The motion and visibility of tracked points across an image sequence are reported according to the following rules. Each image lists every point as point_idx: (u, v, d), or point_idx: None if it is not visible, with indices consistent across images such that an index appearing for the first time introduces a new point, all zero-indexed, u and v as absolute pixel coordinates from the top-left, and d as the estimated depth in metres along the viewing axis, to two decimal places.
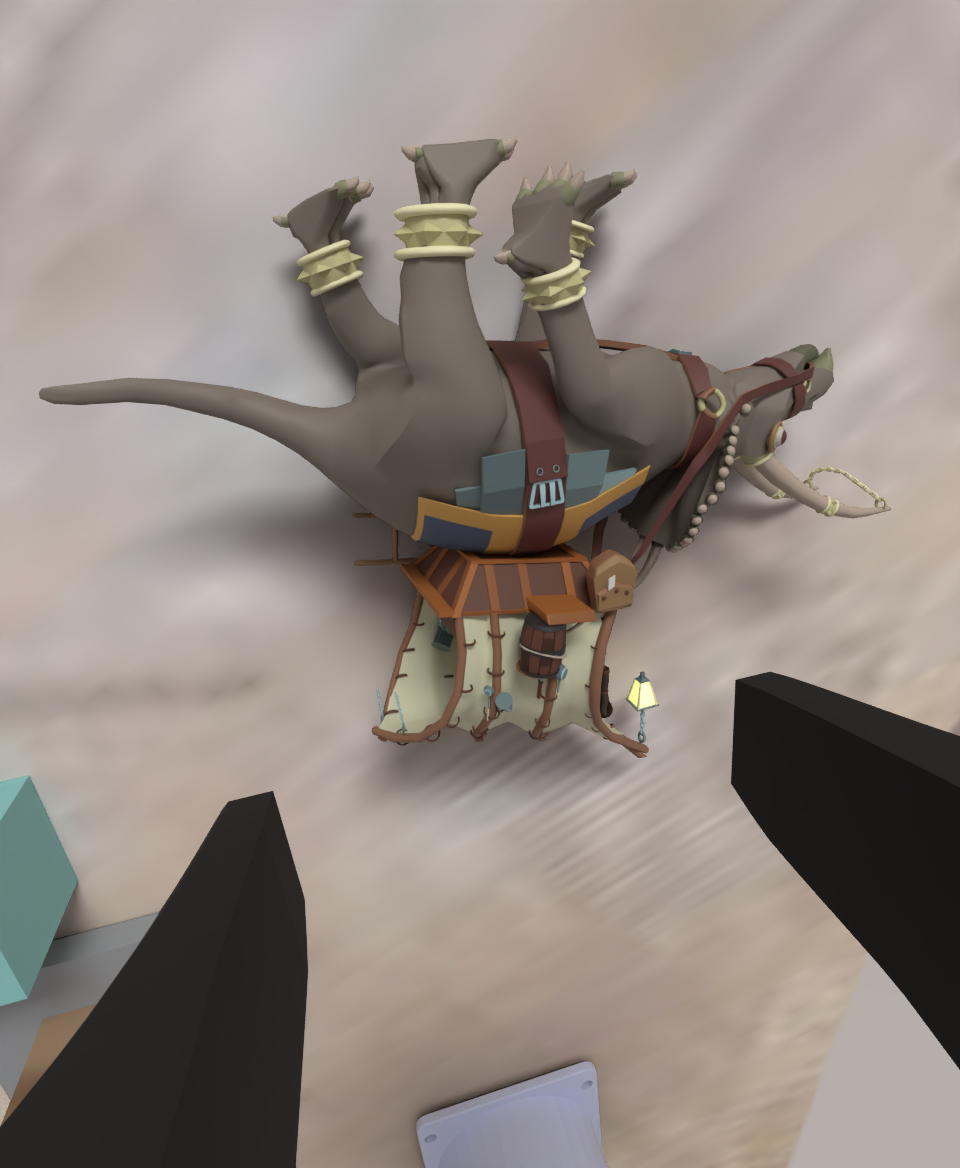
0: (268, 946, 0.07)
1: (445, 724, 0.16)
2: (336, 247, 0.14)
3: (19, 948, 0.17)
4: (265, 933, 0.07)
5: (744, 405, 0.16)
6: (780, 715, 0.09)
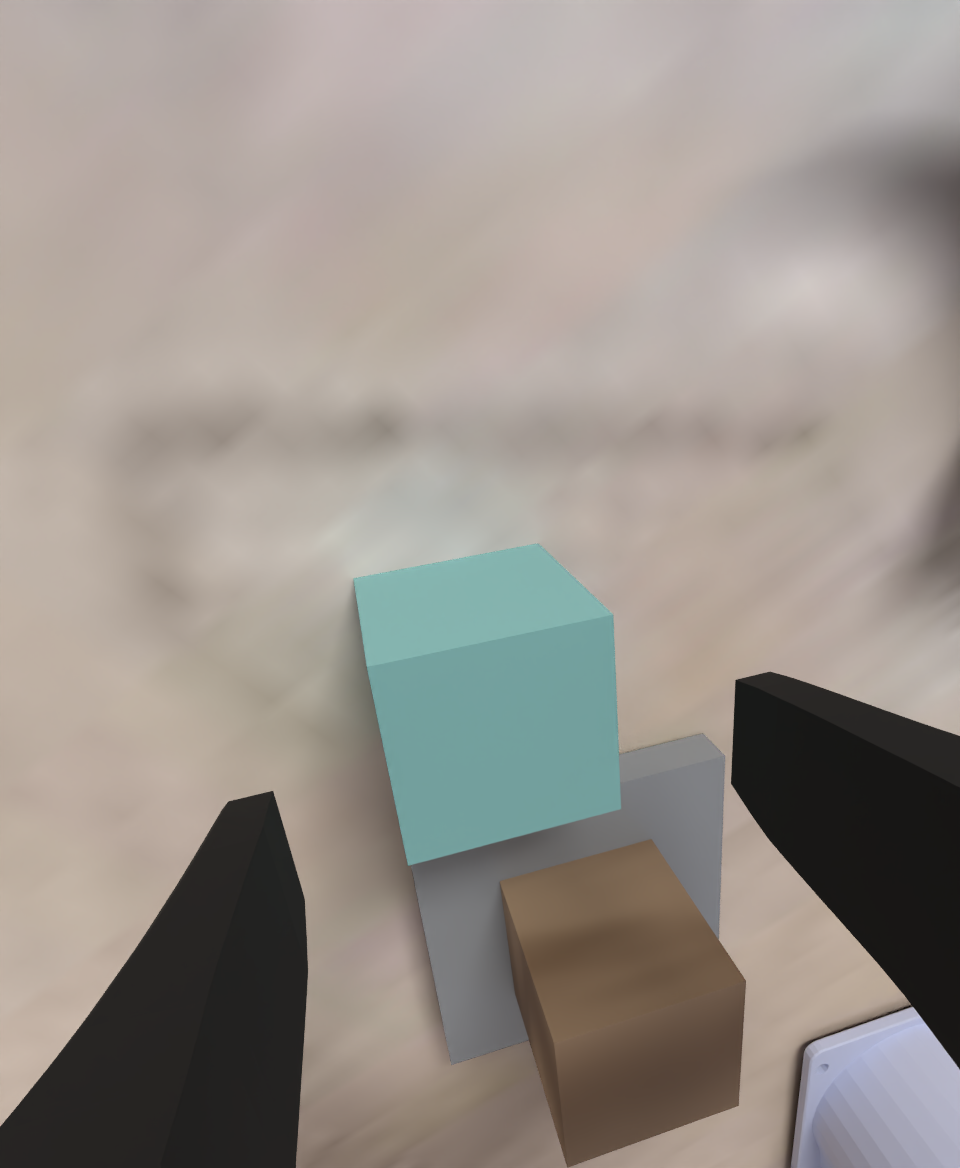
0: (267, 946, 0.07)
1: None
2: None
3: None
4: (265, 933, 0.07)
5: None
6: (780, 715, 0.09)
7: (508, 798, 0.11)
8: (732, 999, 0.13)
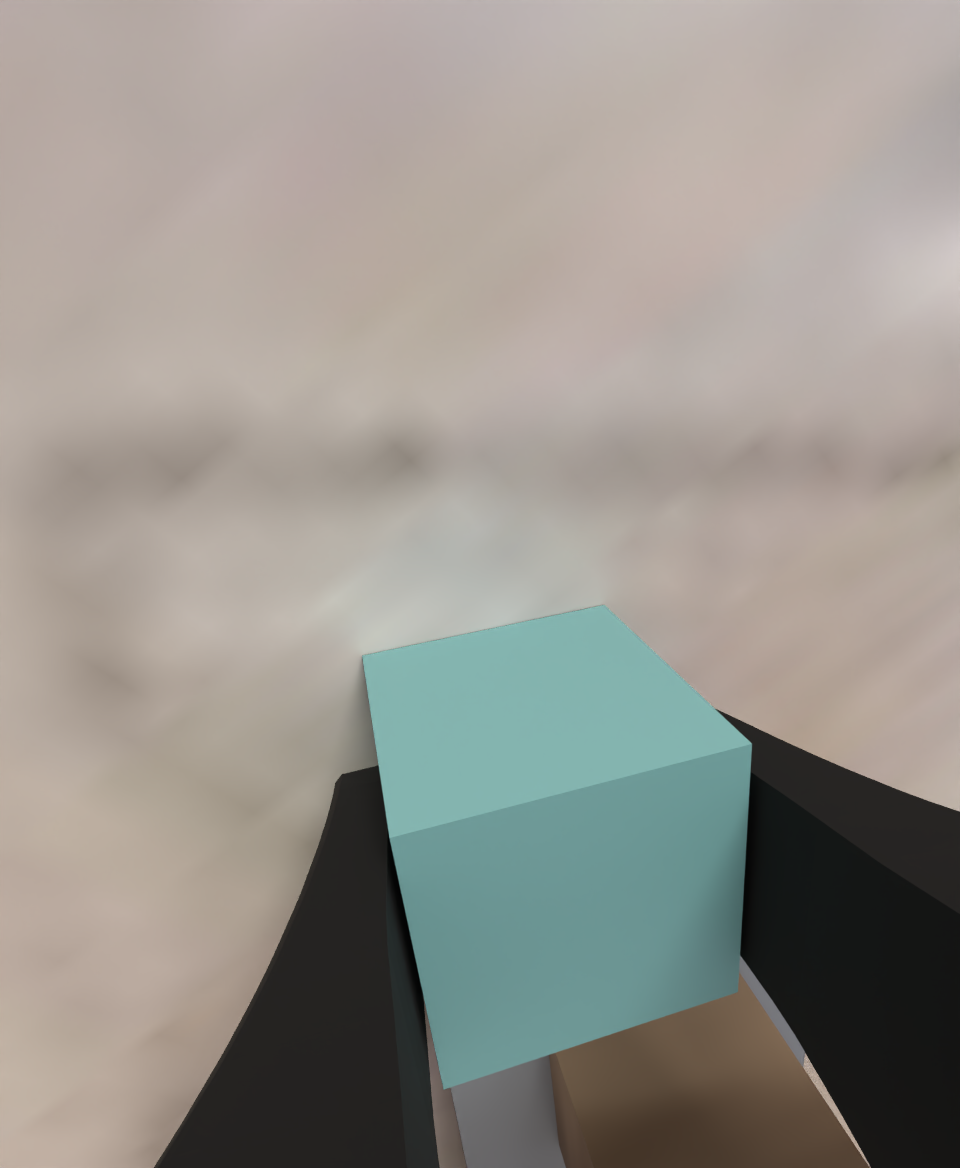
0: (402, 910, 0.08)
1: None
2: None
3: None
4: (399, 896, 0.08)
5: None
6: None
7: (587, 993, 0.08)
8: None
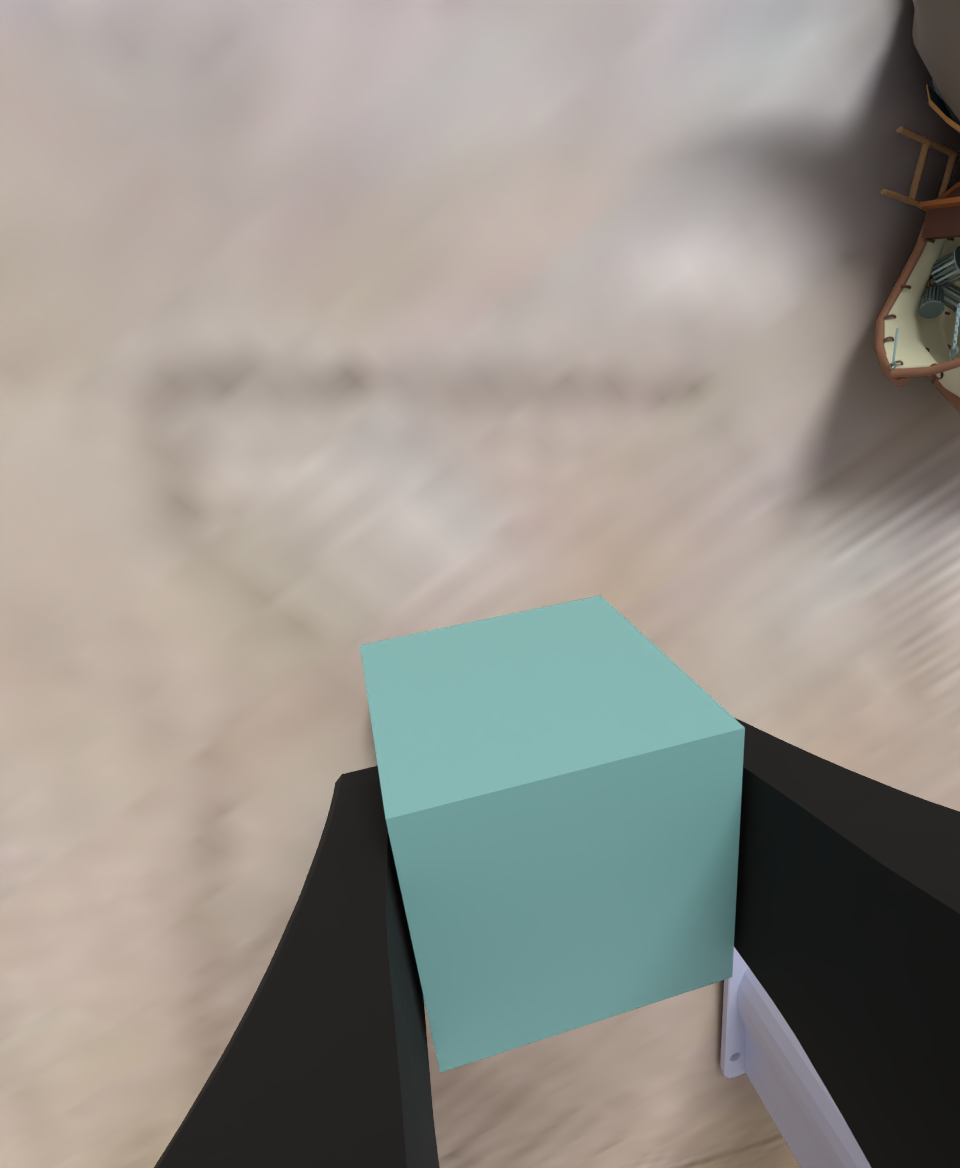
0: (401, 908, 0.08)
1: None
2: None
3: None
4: (399, 896, 0.08)
5: None
6: None
7: (582, 977, 0.08)
8: None
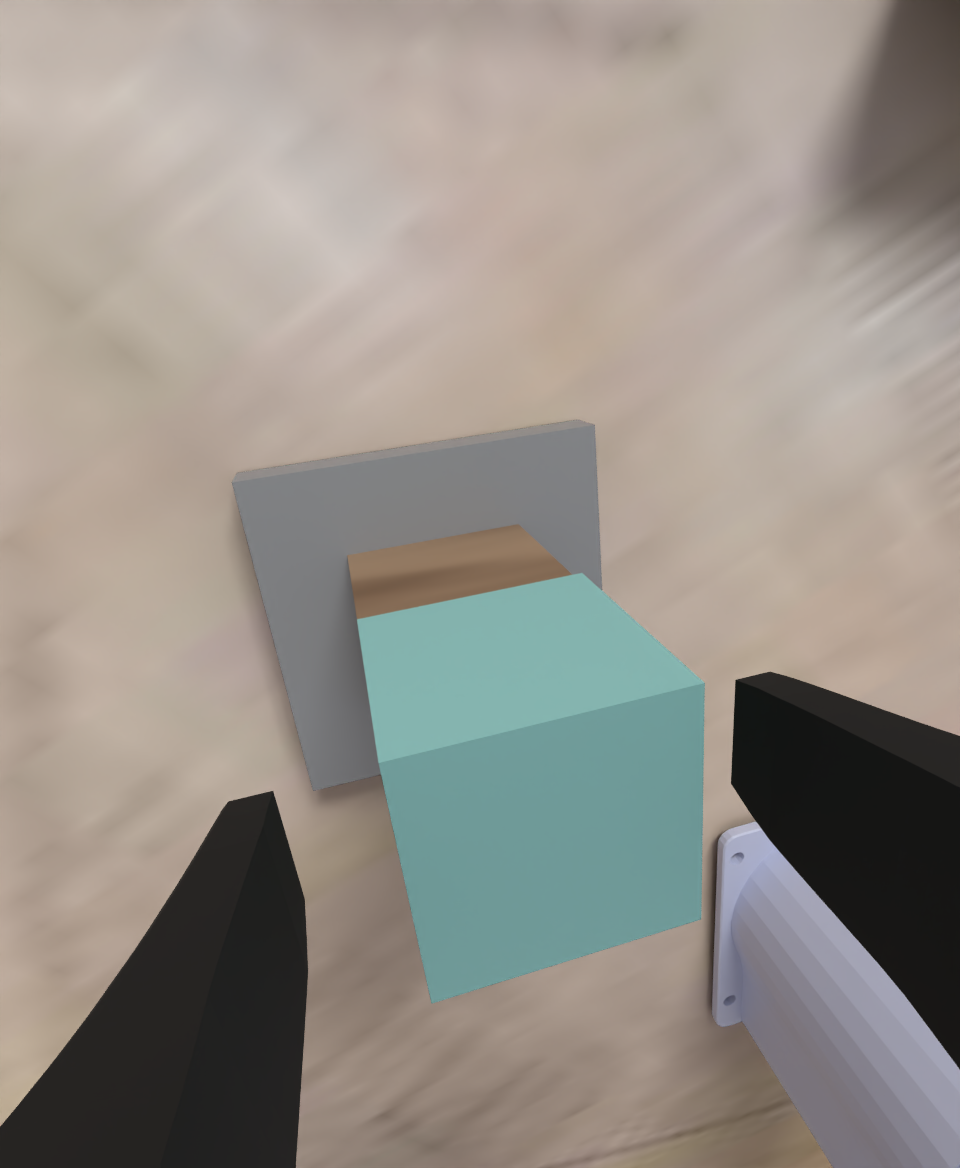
0: (267, 946, 0.07)
1: None
2: None
3: None
4: (265, 933, 0.07)
5: None
6: (780, 715, 0.09)
7: (561, 915, 0.09)
8: None
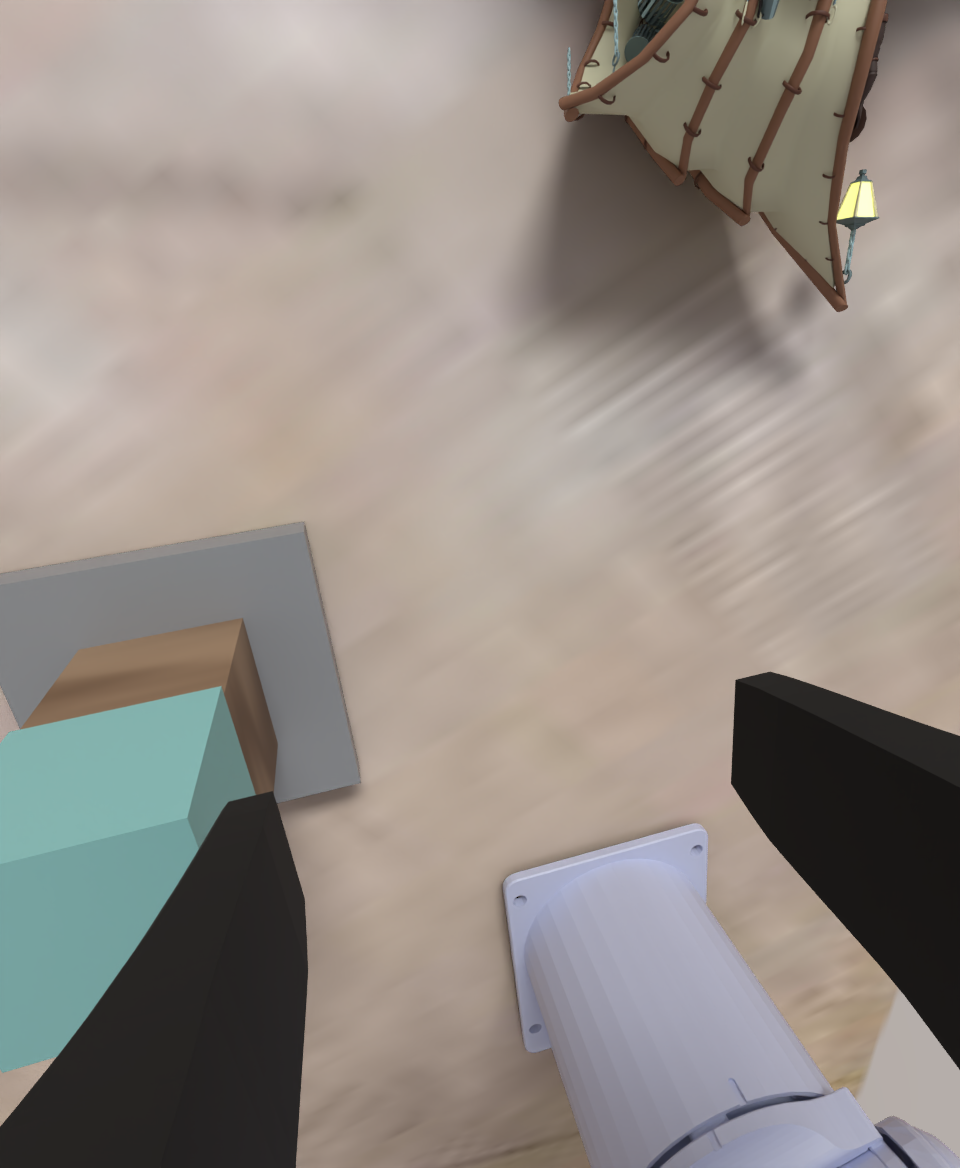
0: (267, 946, 0.07)
1: (693, 2, 0.11)
2: None
3: None
4: (265, 933, 0.07)
5: None
6: (780, 715, 0.09)
7: None
8: None
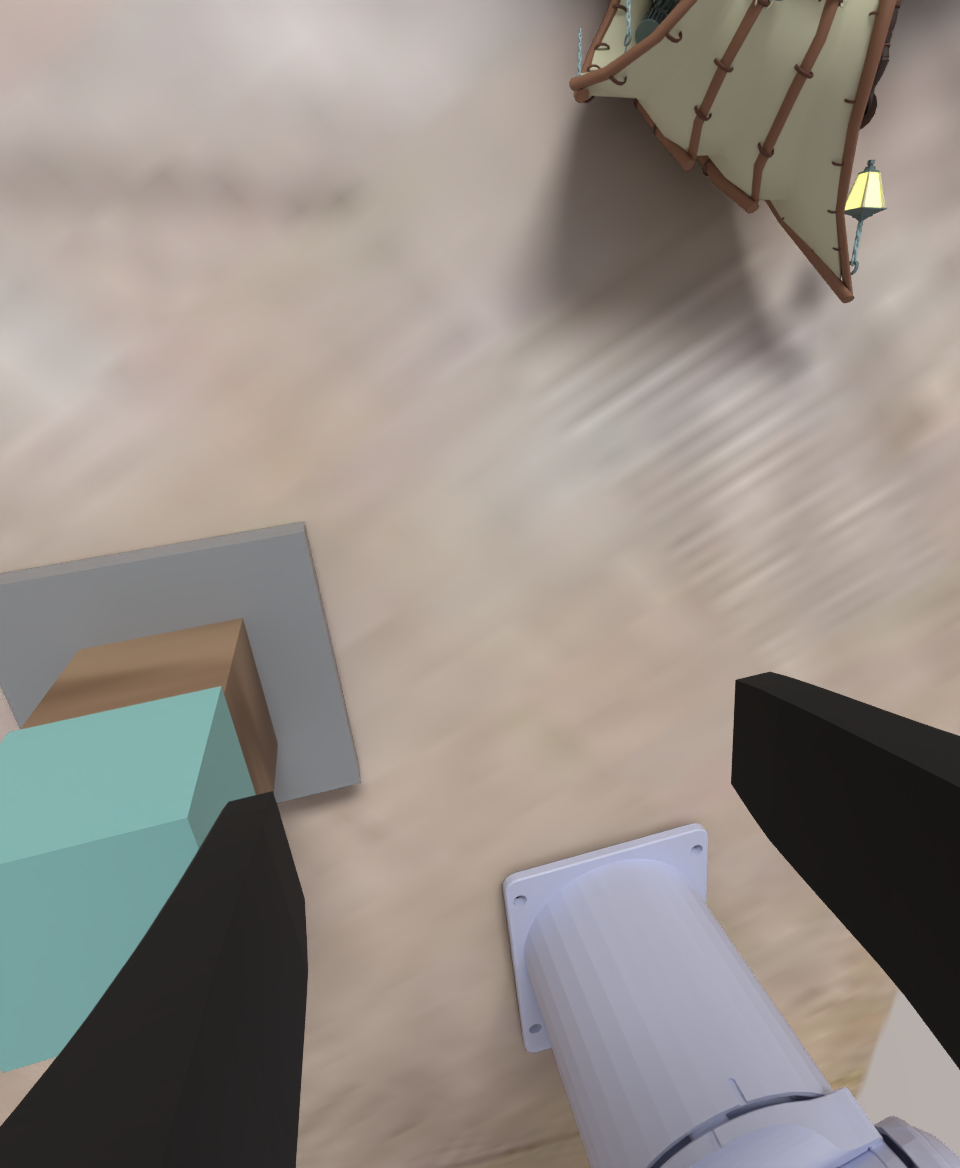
0: (267, 946, 0.07)
1: None
2: None
3: None
4: (265, 933, 0.07)
5: None
6: (780, 715, 0.09)
7: None
8: None
